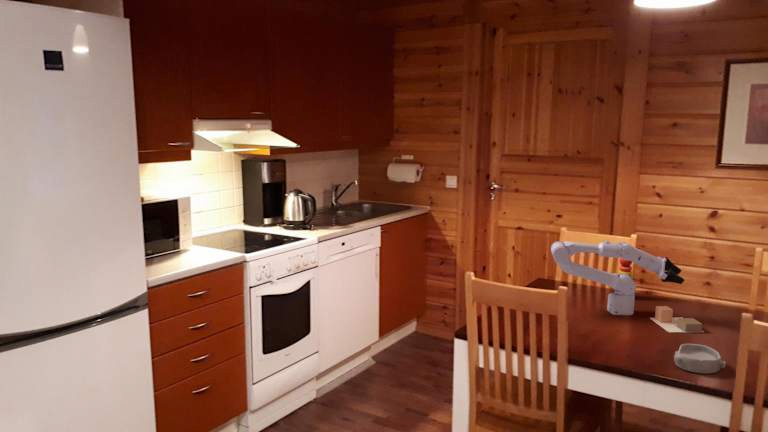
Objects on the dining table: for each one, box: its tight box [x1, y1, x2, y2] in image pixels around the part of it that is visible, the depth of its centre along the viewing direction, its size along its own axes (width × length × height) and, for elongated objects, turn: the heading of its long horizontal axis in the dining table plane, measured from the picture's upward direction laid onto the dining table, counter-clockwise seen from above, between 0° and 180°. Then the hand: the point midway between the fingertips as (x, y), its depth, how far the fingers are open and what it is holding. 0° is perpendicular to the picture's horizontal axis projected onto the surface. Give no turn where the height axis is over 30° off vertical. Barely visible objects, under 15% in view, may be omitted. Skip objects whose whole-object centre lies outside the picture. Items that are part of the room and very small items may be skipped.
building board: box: [649, 316, 705, 334], centre depth 218 cm, size 13×16×4 cm
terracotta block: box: [654, 305, 674, 323], centre depth 223 cm, size 4×4×5 cm
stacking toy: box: [618, 257, 634, 280], centre depth 253 cm, size 8×8×19 cm
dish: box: [673, 343, 727, 374], centre depth 185 cm, size 14×14×5 cm
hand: (681, 276), depth 226 cm, fingers open, 7 cm apart
